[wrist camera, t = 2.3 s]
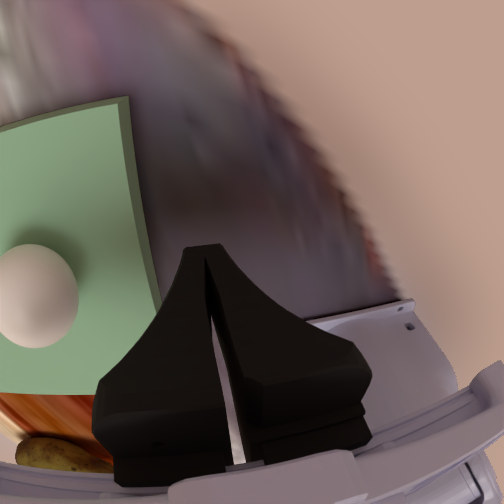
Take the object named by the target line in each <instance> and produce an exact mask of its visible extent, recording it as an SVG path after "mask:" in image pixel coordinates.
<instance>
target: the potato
mask: <svg viewBox="0 0 504 504" xmlns="http://www.w3.org/2000/svg"><path fill="white" fill-rule="evenodd" d="M15 459H16V462H17V464H18V465H22V466H29V467H35V468H42V469H51V470H60V471H71V472H84V473H108V474H114V469H113V466H112V465H111V464H110V463H109V462H107V461H104V460H102V459H100V458H98V457H95V456H93V455H91V454H89V453H87V452H86V451H85V450H83V449H82V448H80V447H79V446H77V445H75V444H73V443H70V442H67V441H64V440H60V439H56V438H49V437H35V438H30V439H27V440H23V441H21V442H20V443H19V444H18V446H17V450H16V454H15Z"/></svg>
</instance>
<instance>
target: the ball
mask: <svg viewBox="0 0 504 504" xmlns="http://www.w3.org/2000/svg"><path fill="white" fill-rule="evenodd" d="M78 305H79V292H78V286H77V282H76V279H75V276H74V274H73V272H72V270H71V268H70V267H69V265H68V264H67V263H66V261H65V260H64V259H63V258H62V257H61V256H60V255H59V254H57V253H56V252H55V251H53V250H51V249H49V248H47V247H45V246H41V245H36V244H24V245H20V246H16V247H14V248H12V249H10V250H8V251H7V252H5V253H4V254H3V255H2V256H1V257H0V332H1V333H2V334H3V335H4V336H5V337H6V338H7V339H9V340H10V341H12V342H13V343H15V344H17V345H20V346H23V347H26V348H43V347H47V346H50V345H52V344H54V343H56V342H57V341H59V340H60V339H61V338H62V337H64V336H65V335H66V333H67V332H68V331H69V330H70V328H71V326H72V325H73V323H74V321H75V318H76V315H77V312H78Z"/></svg>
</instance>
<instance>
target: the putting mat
mask: <svg viewBox="0 0 504 504" xmlns="http://www.w3.org/2000/svg"><path fill="white" fill-rule="evenodd" d="M24 244H36V245H41V246H45V247H47V248H49V249H51V250H53V251H55V252H56V253H57V254H59V255H60V256H61V257H62V258H63V259H64V260H65V261H66V263H67V264H68V265H69V267H70V268H71V270H72V272H73V274H74V276H75V279H76V282H77V286H78V292H79V305H78V312H77V315H76V318H75V321H74V323H73V325H72V326H71V328H70V330H69V331H68V332H67V333H66V335H65V336H64V337H62V338H61V339H60V340H59V341H57V342H56V343H54V344H52V345H50V346H47V347H43V348H26V347H23V346H20V345H17V344H15V343H13V342H12V341H10V340H9V339H7V338H6V337H5V336H4V335H3V334H2V333H1V332H0V392H7V393H24V394H54V395H86V394H95V393H96V389H97V385H98V382H99V380H100V379H101V378H102V377H103V376H105V375H106V374H107V373H108V372H109V371H110V370H111V369H112V368H113V367H114V366H115V365H116V364H117V363H118V362H119V361H120V360H121V359H122V358H123V357H124V356H125V355H126V354H127V353H128V351H129V350H130V349H131V348H132V347H133V346H134V344H135V343H136V342H137V341H138V340H139V338H140V337H141V336H142V334H143V333H144V332H145V330H146V329H147V327H148V326H149V325H150V323H151V322H152V320H153V319H154V317H155V316H156V314H157V312H158V311H159V309H160V307H161V305H162V300H161V296H160V291H159V287H158V283H157V278H156V273H155V269H154V264H153V259H152V254H151V249H150V244H149V239H148V234H147V229H146V223H145V218H144V212H143V206H142V200H141V194H140V187H139V181H138V174H137V167H136V160H135V152H134V144H133V136H132V127H131V117H130V107H129V96H123V97H117V98H111V99H106V100H101V101H96V102H91V103H86V104H81V105H77V106H72V107H68V108H64V109H60V110H56V111H52V112H48V113H44V114H41V115H37V116H34V117H30V118H27V119H24V120H20V121H17V122H14V123H11V124H8V125H5V126H2V127H0V257H1V256H2V255H3V254H4V253H5V252H7V251H8V250H10V249H12V248H14V247H16V246H20V245H24Z"/></svg>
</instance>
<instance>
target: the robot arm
mask: <svg viewBox="0 0 504 504" xmlns="http://www.w3.org/2000/svg"><path fill="white" fill-rule="evenodd" d="M415 304H416V303H415V301H414V300H413V299H407V300H403V301H398V302H394V303H390V304H386V305H381V306H377V307H373V308H368V309H364V310H359V311H354V312H350V313H345V314H340V315H335V316H330V317H325V318H320V319H315V320H310V321H304V320H302V319H301V318H299V317H297V316H296V315H294V314H292V313H291V312H289V311H287V310H286V309H284V308H283V307H282V306H280V305H279V304H277V303H276V302H275V301H274V300H272V299H271V298H270V297H268V296H267V295H266V294H265V293H264V292H263V291H261V290H260V289H259V288H258V287H257V286H256V285H255V284H254V283H253V282H252V281H251V280H250V279H249V278H248V277H247V276H246V275H245V274H244V273H243V272H242V271H241V269H240V268H239V267H238V266H237V265H236V264H235V262H234V261H233V260H232V259H231V257H230V256H229V255H228V253H227V252H226V250H225V249H224V247H223V246H222V245H221V244H220V243H219V244H211V245H202V246H194V247H186V248H185V249H184V250H183V254H182V258H181V262H180V265H179V268H178V271H177V273H176V276H175V278H174V281H173V283H172V285H171V288H170V290H169V292H168V294H167V296H166V298H165V300H164V302H163V304H162V305H161V307H160V309H159V311H158V312H157V314H156V316H155V317H154V319H153V320H152V322H151V323H150V325H149V326H148V327H147V329H146V330H145V332H144V333H143V334H142V336H141V337H140V338H139V340H138V341H137V342H136V343H135V344H134V346H133V347H132V348H131V349H130V350H129V351H128V353H127V354H126V355H125V356H124V357H123V358H122V359H121V360H120V361H119V362H118V363H117V364H116V365H115V366H114V367H113V368H112V369H111V370H110V371H109V372H108V373H107V374H106V375H105V376H103V377H102V378H101V379H100V380H99V382H98V385H97V389H96V393H95V398H94V402H93V409H92V433H93V435H94V437H95V438H96V439H97V440H98V441H99V442H100V443H101V444H102V445H103V446H104V447H105V448H106V449H107V450H108V451H109V452H110V453H111V454H112V455H113V469H114V474H108V473H84V472H71V471H60V470H51V469H42V468H35V467H29V466H22V465H16V464H11V463H6V462H1V461H0V504H501V501H502V499H503V495H502V493H501V491H500V488H499V486H498V484H497V482H496V474H495V472H494V470H493V468H492V466H491V463H490V461H489V459H488V457H487V456H486V454H485V452H484V449H486V448H487V447H488V446H490V445H491V444H493V443H494V442H495V441H497V440H498V439H499V438H500V437H501V436H503V435H504V364H503V363H502V361H501V360H500V361H497V362H495V363H494V364H492V365H490V366H488V367H487V368H485V369H483V370H482V371H481V372H479V373H478V374H477V375H476V376H475V377H474V379H473V380H472V382H471V383H470V385H469V386H467V387H465V388H463V389H462V390H460V391H458V384H457V379H456V375H455V372H454V370H453V367H452V365H451V364H450V362H449V360H448V359H447V357H446V356H445V355H444V353H443V352H442V351H441V349H440V348H439V346H438V345H437V343H436V342H435V340H434V339H433V338H432V336H431V335H430V333H429V332H428V331H427V329H426V328H425V327H424V325H423V324H422V322H421V321H420V320H419V318H418V317H417V316H416V314H415V313H414V312H413V309H414V307H415ZM211 315H212V319H213V323H214V326H215V330H216V333H217V337H218V340H219V343H220V347H221V350H222V354H223V357H224V360H225V364H226V368H227V372H228V377H229V382H230V387H231V392H232V397H233V402H234V407H235V412H236V417H237V421H238V426H239V431H240V436H241V441H242V445H243V450H244V455H245V459H246V463H243V464H237V465H234V462H233V455H232V449H231V441H230V435H229V428H228V421H227V414H226V407H225V402H224V397H223V392H222V386H221V382H220V377H219V372H218V368H217V363H216V358H215V353H214V348H213V342H212V325H211Z"/></svg>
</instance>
